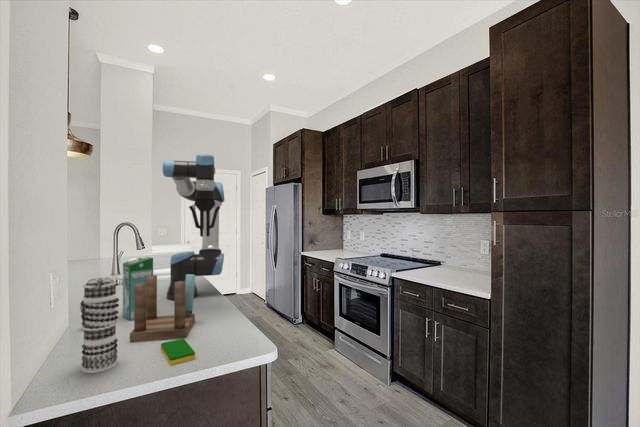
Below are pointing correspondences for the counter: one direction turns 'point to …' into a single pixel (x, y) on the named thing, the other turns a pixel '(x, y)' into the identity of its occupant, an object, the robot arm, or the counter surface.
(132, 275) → the milk carton
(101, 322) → the decorative candle
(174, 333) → the walnut stool
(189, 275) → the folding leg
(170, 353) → the dish sponge
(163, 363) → the counter surface
